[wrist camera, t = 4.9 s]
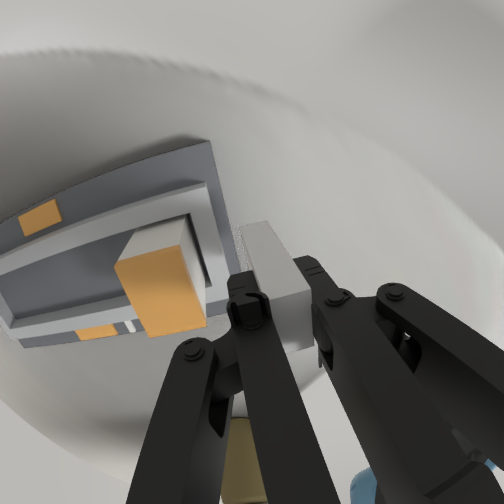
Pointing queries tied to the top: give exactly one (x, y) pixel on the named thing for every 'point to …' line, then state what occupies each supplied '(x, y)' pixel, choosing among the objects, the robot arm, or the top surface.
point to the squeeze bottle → (242, 467)
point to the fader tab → (164, 277)
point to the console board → (107, 247)
